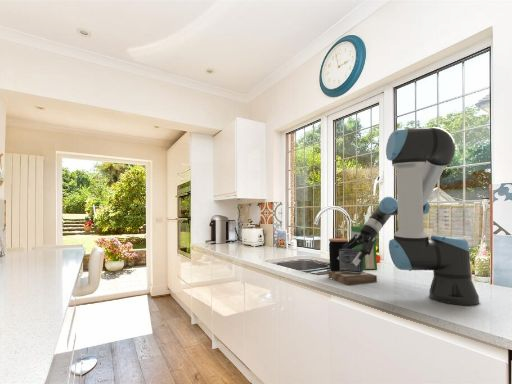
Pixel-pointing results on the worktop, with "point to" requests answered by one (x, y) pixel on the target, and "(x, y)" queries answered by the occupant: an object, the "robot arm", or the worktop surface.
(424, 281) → the worktop surface
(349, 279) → the walnut stand
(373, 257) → the hardback book
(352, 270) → the small box
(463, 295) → the robot arm
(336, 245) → the coffee jar
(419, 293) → the worktop surface
